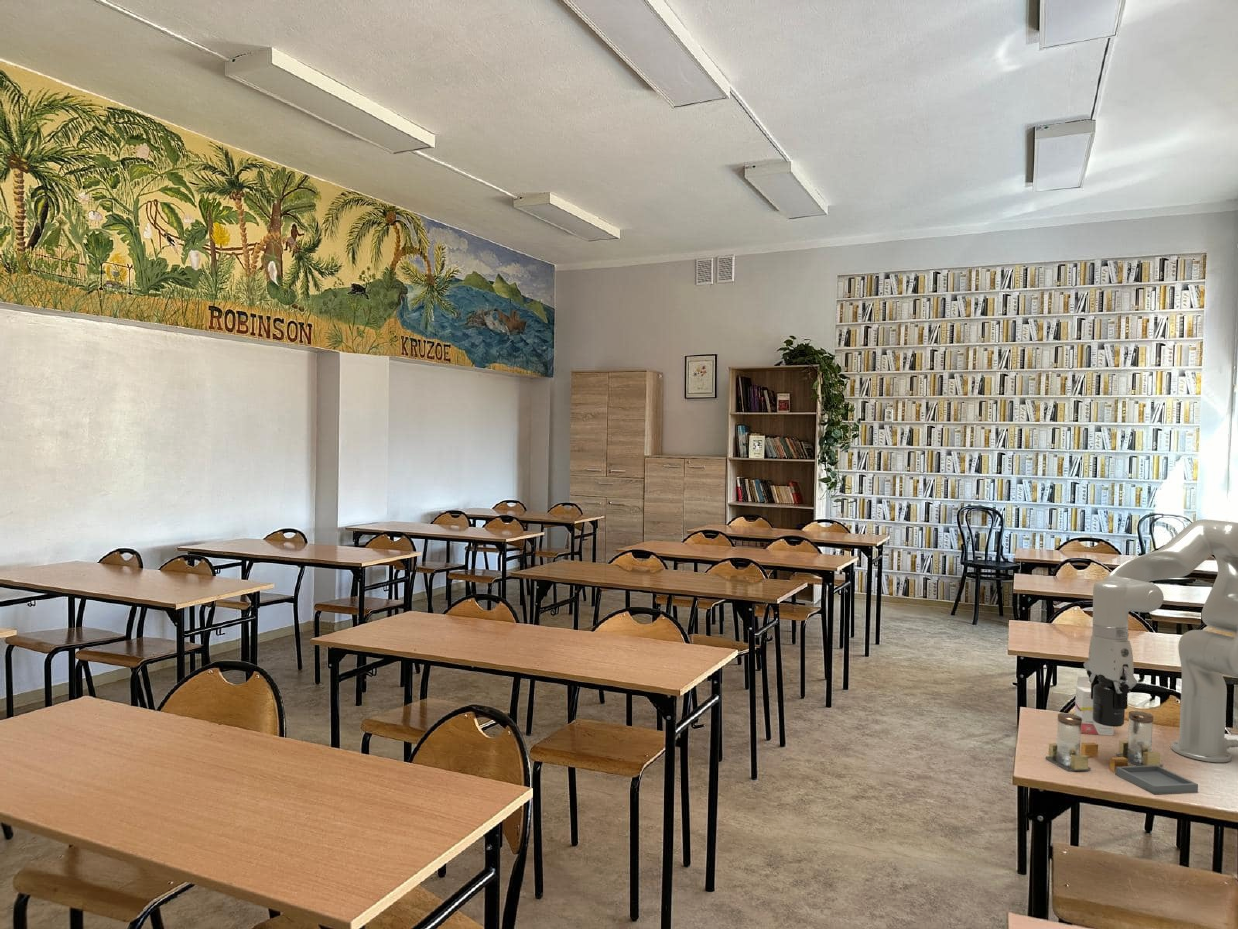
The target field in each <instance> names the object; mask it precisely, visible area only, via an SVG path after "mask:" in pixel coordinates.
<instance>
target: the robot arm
mask: <svg viewBox="0 0 1238 929" xmlns="http://www.w3.org/2000/svg"><path fill="white" fill-rule="evenodd" d="M1213 555H1214V559H1215V561H1216V565H1217V576H1216V578H1215V581H1214V583H1213V586H1212V588H1211V590H1210V592H1209V593H1208V596H1207V597H1206V601H1205V602H1204V605H1203V606H1202V607H1203V608H1202V610H1201V614H1200V615H1201V620H1202V622H1203V624H1204V625H1206V626H1207V627H1209V628H1212V629H1213V630H1214V629H1215V630H1218V631H1222V632H1226V633H1230V634H1234V635H1235V636H1234V637H1233V636H1229V635H1226V634H1222V633H1217V632H1213V631H1208V630H1203V629H1192V630H1189V631H1187V632H1185V633H1183V634H1182V635H1181V637H1180V639H1179V640H1178V644H1177V645H1178V656H1179V661H1180V668H1181V685H1180V686H1181V687H1180V689H1181V691H1180V711H1179V730H1178V731H1179V734H1178V740H1175V741H1172V742H1171V746H1170V747H1171V749H1172V750H1173V751H1174V752H1175V753H1177V754H1178V755H1181V756H1184V757H1187V758H1188V759H1189V758H1190V759H1193V760H1199V761H1202V762H1209V763H1228V762H1230V761H1231V760H1232V754H1231V752H1229V751H1228V750H1229V749H1230V748H1238V740H1237V739H1228V738H1226V737H1225V734H1226V713H1227V712H1226V711H1227V694H1228V692H1227V691H1228V690H1227V685H1226V684H1227V683H1226V681H1225V678H1224V676H1223V675H1226V676H1228V677H1233V678H1237V679H1238V522H1235V521H1225V520H1215V519H1214V520H1213V519H1205V518H1204V519H1196V520H1194V521H1192V522H1191V523H1189V524H1188V525H1187V526H1186V527H1184V528H1183V529H1182V530H1181V531H1180V532H1178V533H1177V534H1176V535H1175V536H1174V537H1172V539H1170V540H1169V541H1168V542H1167V543H1165V544H1164V545H1163V546H1162V547H1161V548H1159V549H1158V550H1157V549H1156V550H1153V551H1150V552H1148V553H1145V554H1142V555H1140V556H1137V557H1136V556H1135V557H1134V558H1131V559H1128V560H1125V561H1124V562H1122V563H1120V565H1118V566H1117V567H1116V568H1114V569H1113V570H1112V571H1111V572H1110V573H1108V574H1107V575H1106V577H1105V578H1104V579H1103V580H1100V581H1096V582H1095V583H1094V584H1093V587H1092V588H1093V590H1092V634H1091V636H1090V640H1089V646H1088V657H1087V658H1088V659H1087V660H1086V661H1085V662H1084V663H1083V668H1085V671H1086V675H1087V677H1089V681H1088V683H1091V699H1093V687H1094V685H1095V684H1096V683H1099V681H1098V675H1100V674H1101V675H1103V676H1105V678H1107V679H1109V680H1111V681H1113V682H1114V685H1115V688H1116V692H1117V693H1114V708H1115V709H1117V710H1119V709H1125V710H1128V700H1129V699H1128V694H1130V693H1131V691H1132V690H1133V689H1134V687H1135V686H1136V685H1137V684H1138V681H1137V678H1136V677H1135V675H1134V672H1135V671H1134V669H1135V668H1134V655H1133V650H1132V644H1131V641H1130V640H1129V635H1130V633H1129V612H1138V613H1151V612H1154V611H1157V610H1159V609H1160V608H1161V606H1162V605H1163V603H1164V600H1165V599H1164V597H1165V596H1164V593H1163V591H1162V589H1161V588H1160V587H1159V586H1157V585H1156V584H1154V583H1152V582H1153V581H1160V580H1171V579H1177V578H1182V577H1185V576H1188V575H1190V574H1191V573H1192V572H1193V571H1195V569H1197V568H1198V567H1199V566H1200V565H1202V564H1203V563H1204V562H1205V561H1207V559H1208V558H1210V557H1211V556H1213ZM1120 678H1121V680H1120ZM1120 683H1121V684H1122V685H1121V684H1120ZM1120 686H1121V687H1120Z"/></svg>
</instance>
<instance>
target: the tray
mask: <svg viewBox="0 0 1238 929" xmlns="http://www.w3.org/2000/svg"><path fill="white" fill-rule="evenodd" d="M1114 774H1115V776H1118V777H1119V778H1122V779H1124V780H1125V781H1127V782H1130V783H1131V784H1132V785H1135V786H1137V787H1139V788H1141V789H1142V790H1145V791H1147V792H1148V793H1150V794H1152V795H1168V794H1169V795H1170V794H1187V793H1191V794H1192V793H1198V792H1199V791H1198V790H1199V784H1198V783H1196V782H1194V781H1192V780H1191V779H1190V780H1189V779H1188V778H1185V777H1183V776H1181V775H1179V774H1177V773H1175V772H1173V771H1171V770H1168V769H1167V768H1164V767H1160V766H1158V765H1147V766H1136V765H1129V766H1124V767H1116V768H1115V772H1114Z"/></svg>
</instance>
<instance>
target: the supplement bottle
mask: <svg viewBox="0 0 1238 929" xmlns="http://www.w3.org/2000/svg"><path fill="white" fill-rule="evenodd" d="M1120 680H1121V678H1120ZM1098 681H1099V683H1096V684H1095V685H1094V687H1093V713H1092V714H1093V715H1092V718H1093V720H1094V721H1095V722H1096V723H1098V724H1101V725H1105V726H1112V727H1114V728H1115V727H1116V728H1118V727H1123V725H1125V711H1126V709H1119V710H1117V709H1115V708H1114V693H1117V692H1116V688H1115V685H1114V682H1113V681H1111V680H1109V679H1107V678H1105V676H1103V675H1101V674H1100V675H1098ZM1121 684H1122V683H1120V687H1122V685H1121Z"/></svg>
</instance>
